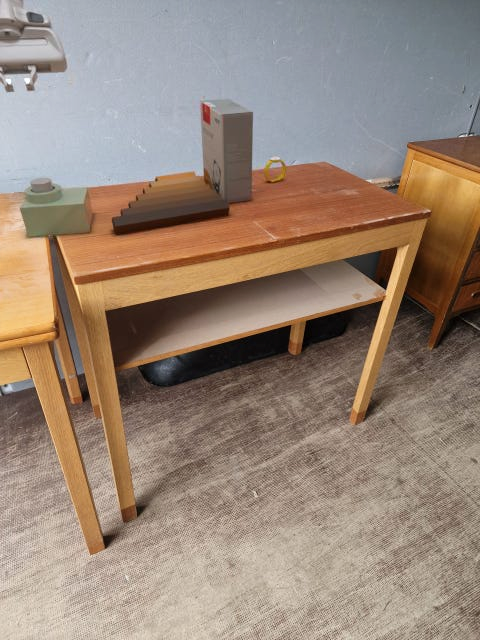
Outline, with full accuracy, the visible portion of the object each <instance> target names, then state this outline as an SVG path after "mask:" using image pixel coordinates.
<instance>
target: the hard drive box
mask: <svg viewBox="0 0 480 640" xmlns="http://www.w3.org/2000/svg"><path fill="white" fill-rule="evenodd" d="M199 105H200V124H201V125H200V126H201V148H202V169H203V171H202V172H203V180H204V181H205V184H206V185H207V184H209V185H210V188H211V189H215V191H216V194H221V197H222V199H223V200H224V199H227V202H228V204H234V203H241V202H247V201H252V190H253V189H252V188H253V141H254V139H253V138H254V137H253V136H254V135H253V134H254V127H253V126H254V111H252V110H250V109H248V108H246V107H245V106H243V105H241V104H239V103H237V102H235V101H233V100H232V99H229V98H223V99H208V100H200V101H199Z"/></svg>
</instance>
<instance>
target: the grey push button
mask: <svg viewBox="0 0 480 640" xmlns="http://www.w3.org/2000/svg"><path fill="white" fill-rule="evenodd" d="M29 183H30V186H31V187H32V191H33V192H34V193H44V192H49V191H51V190H53V185H52V183H53V182H52V179H51V178H49V177H38V178H33V179H31V180H30V181H29Z"/></svg>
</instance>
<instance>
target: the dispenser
mask: <svg viewBox="0 0 480 640" xmlns="http://www.w3.org/2000/svg"><path fill="white" fill-rule="evenodd" d="M52 185H53V190H51V191H49V192H44V193H34V192H33V191H32V187H31V185H30V186H28V187H26V188H25V189H24V191H23V193H24V196H25V197H24V199H23V201H22V203H21V205H20V206H19V211H20V214H21V217H22V221H23V224H24V228H25V231H26V234H27V237H28V238H34V237H35V238H36V237H47V236H48V237H49V236H61V235H62V236H63V235H73V234H74V235H75V234H85V233H90V231H91V228H92V227H91V226H92V221H93V216H94V212H93V207H92V203H91V197H90V192H89V188H88V186H80V187H79V186H78V187H62V186H61V185H60V184H58V183H53V182H52Z"/></svg>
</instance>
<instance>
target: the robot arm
mask: <svg viewBox="0 0 480 640" xmlns="http://www.w3.org/2000/svg"><path fill="white" fill-rule="evenodd" d="M24 4H25V3H24V0H0V83H1V84H2V85H3V86H4V90H5V92H6V93H14V92H15V88H14V85H13V82H12V79H11V78H6V76H10V75H11V76H13V75H29V76H28V77H26V78H24V83H25V87H26V91H27V92H35V91H36V89H35V84H36V81H37V79H38V78H39V75H38V74H54V73H55V74H56V73H65V72H66V70H68V63H67V56H66V52H65V50H64V47H63V44H62V41H61V40H60V38H59V35H58V34H57V32H56V31H55V30H54V29H53V25H52V22H51V19H50V17H49V16H48V15H46V14H43V13H40V12H39V13H38V12H35V11H31V10H29V9H26V8H24Z"/></svg>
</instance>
